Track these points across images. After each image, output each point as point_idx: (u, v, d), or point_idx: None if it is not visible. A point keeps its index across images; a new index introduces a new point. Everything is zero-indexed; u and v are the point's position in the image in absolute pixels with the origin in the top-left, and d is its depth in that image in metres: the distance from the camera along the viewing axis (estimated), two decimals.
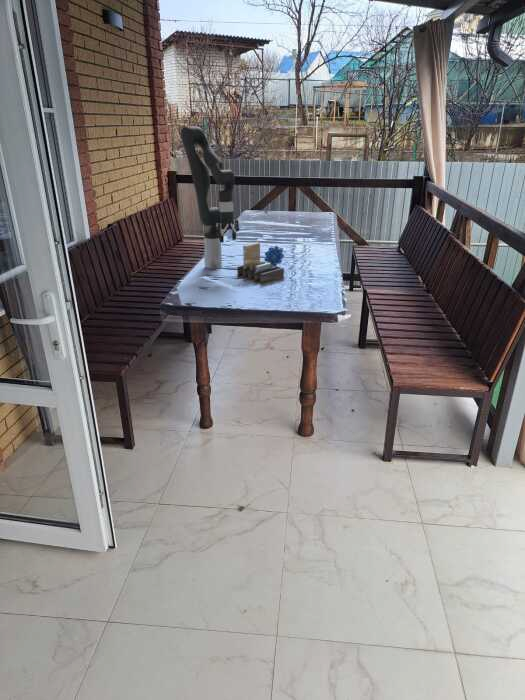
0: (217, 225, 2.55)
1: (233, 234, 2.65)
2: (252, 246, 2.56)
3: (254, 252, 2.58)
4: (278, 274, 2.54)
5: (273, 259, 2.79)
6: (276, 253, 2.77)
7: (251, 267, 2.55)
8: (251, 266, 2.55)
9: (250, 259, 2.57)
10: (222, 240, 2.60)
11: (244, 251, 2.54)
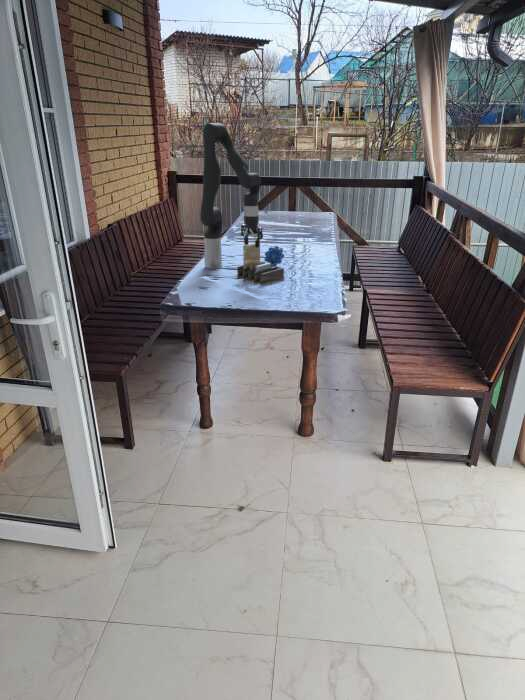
0: (260, 229, 2.48)
1: (246, 239, 2.58)
2: (252, 246, 2.56)
3: (254, 252, 2.58)
4: (278, 274, 2.54)
5: (273, 259, 2.79)
6: (276, 253, 2.77)
7: (251, 267, 2.55)
8: (251, 266, 2.55)
9: (250, 259, 2.57)
10: None
11: (244, 251, 2.54)
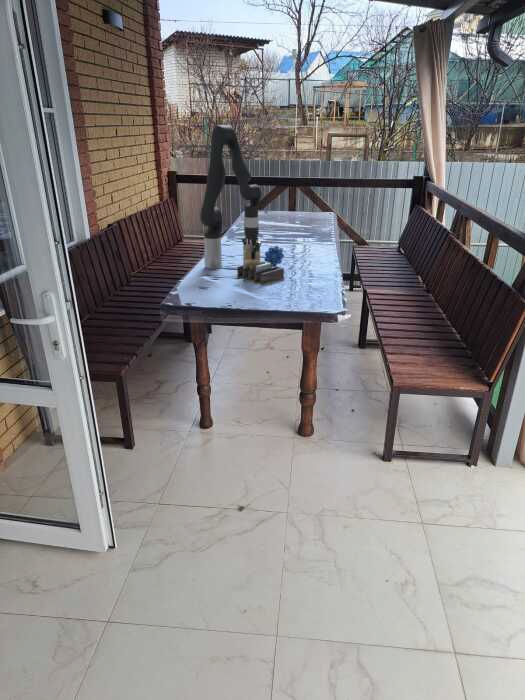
0: (259, 244, 2.52)
1: None
2: None
3: None
4: (278, 274, 2.54)
5: (273, 259, 2.79)
6: (276, 253, 2.77)
7: (251, 267, 2.55)
8: (251, 266, 2.55)
9: (250, 258, 2.57)
10: None
11: (244, 250, 2.54)
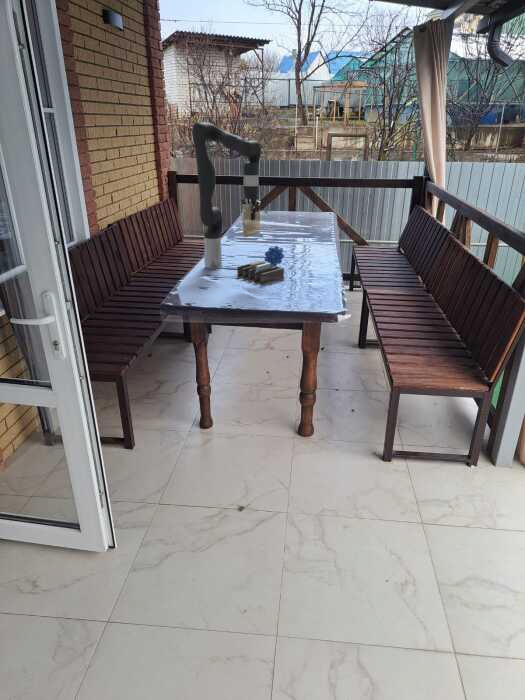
0: (259, 204, 2.43)
1: None
2: None
3: None
4: (278, 274, 2.54)
5: (273, 259, 2.79)
6: (276, 253, 2.77)
7: (251, 267, 2.55)
8: (251, 266, 2.55)
9: (249, 219, 2.48)
10: None
11: (243, 210, 2.45)
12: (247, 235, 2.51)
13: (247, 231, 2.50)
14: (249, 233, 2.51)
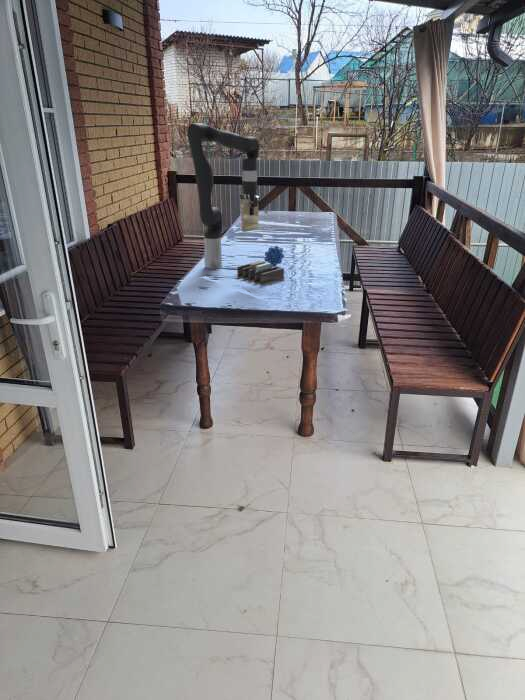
0: (258, 199, 2.46)
1: None
2: None
3: None
4: (278, 274, 2.54)
5: (273, 259, 2.79)
6: (276, 253, 2.77)
7: (251, 267, 2.55)
8: (251, 266, 2.55)
9: (248, 214, 2.51)
10: None
11: (242, 205, 2.48)
12: (246, 230, 2.53)
13: (246, 226, 2.53)
14: (248, 228, 2.54)
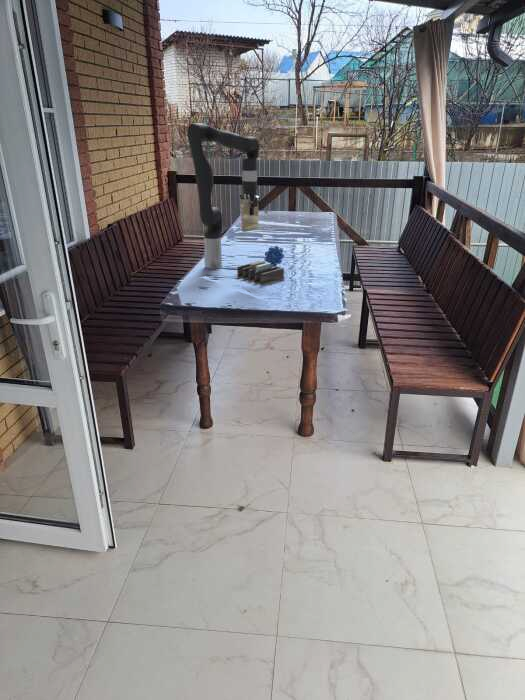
0: (258, 199, 2.46)
1: None
2: None
3: None
4: (278, 274, 2.54)
5: (273, 259, 2.79)
6: (276, 253, 2.77)
7: (251, 267, 2.55)
8: (251, 266, 2.55)
9: (248, 214, 2.51)
10: None
11: (242, 205, 2.48)
12: (246, 230, 2.53)
13: (246, 226, 2.53)
14: (248, 228, 2.54)
